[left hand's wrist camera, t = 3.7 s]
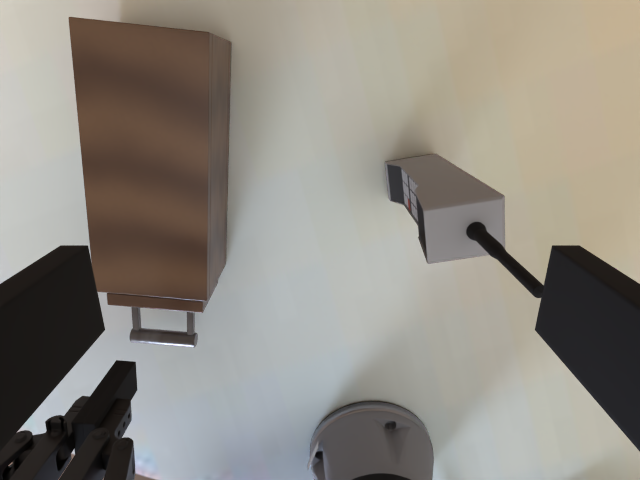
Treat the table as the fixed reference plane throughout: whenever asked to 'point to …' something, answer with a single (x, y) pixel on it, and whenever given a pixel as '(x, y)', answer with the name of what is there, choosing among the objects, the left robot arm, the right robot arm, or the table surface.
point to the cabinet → (153, 155)
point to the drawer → (167, 304)
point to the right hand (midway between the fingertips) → (126, 375)
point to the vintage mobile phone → (454, 213)
